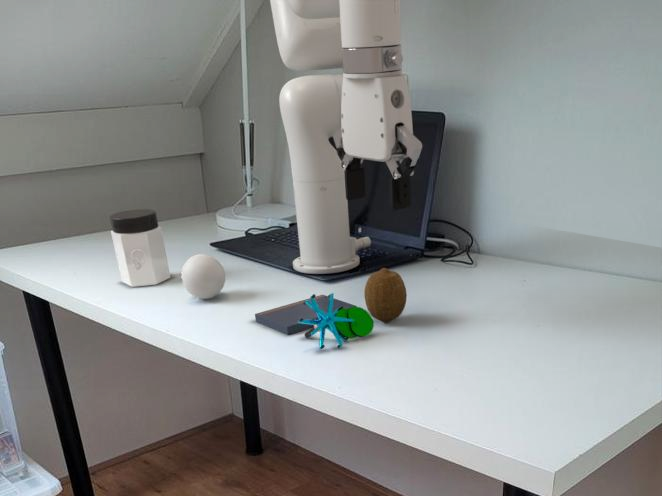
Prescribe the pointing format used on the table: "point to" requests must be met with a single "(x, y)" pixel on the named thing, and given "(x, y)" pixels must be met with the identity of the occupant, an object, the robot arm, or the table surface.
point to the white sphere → (203, 276)
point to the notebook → (296, 314)
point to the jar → (139, 247)
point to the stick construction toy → (339, 322)
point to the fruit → (385, 295)
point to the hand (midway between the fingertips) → (377, 203)
